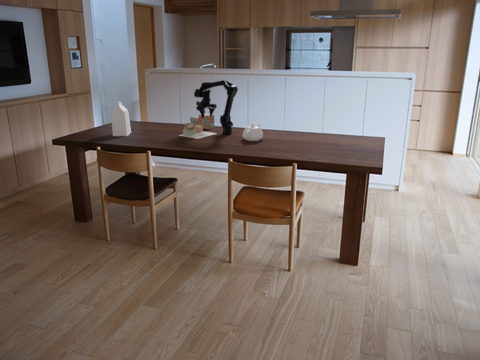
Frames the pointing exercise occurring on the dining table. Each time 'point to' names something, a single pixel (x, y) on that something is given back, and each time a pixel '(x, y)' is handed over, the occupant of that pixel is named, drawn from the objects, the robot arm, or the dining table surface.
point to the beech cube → (189, 126)
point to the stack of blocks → (203, 121)
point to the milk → (120, 121)
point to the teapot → (252, 133)
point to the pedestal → (189, 132)
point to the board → (199, 135)
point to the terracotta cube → (198, 128)
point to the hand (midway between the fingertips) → (206, 117)
